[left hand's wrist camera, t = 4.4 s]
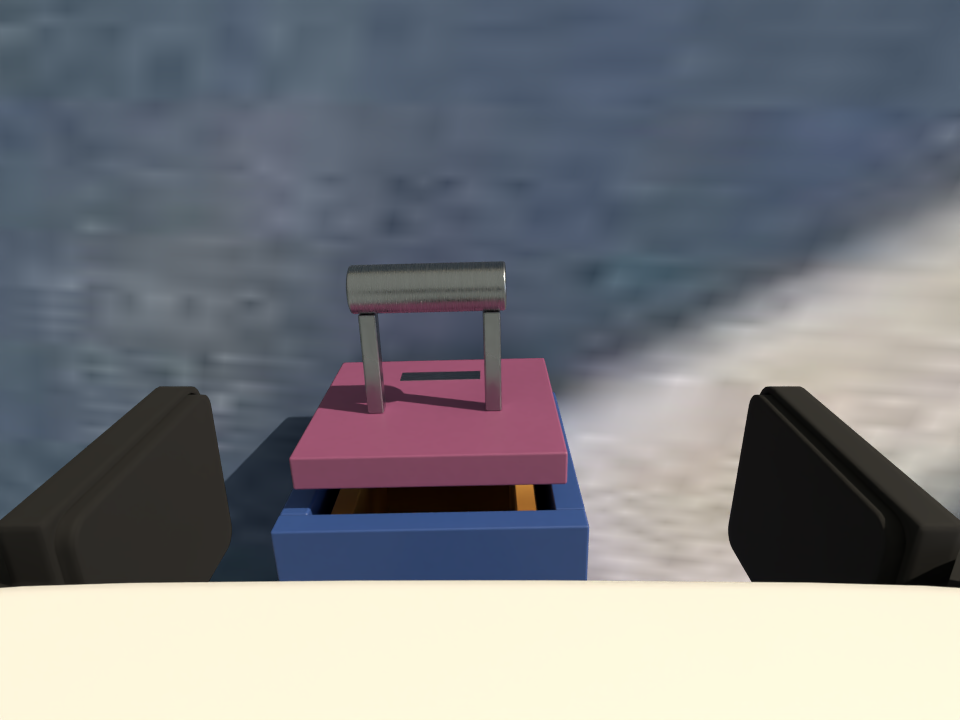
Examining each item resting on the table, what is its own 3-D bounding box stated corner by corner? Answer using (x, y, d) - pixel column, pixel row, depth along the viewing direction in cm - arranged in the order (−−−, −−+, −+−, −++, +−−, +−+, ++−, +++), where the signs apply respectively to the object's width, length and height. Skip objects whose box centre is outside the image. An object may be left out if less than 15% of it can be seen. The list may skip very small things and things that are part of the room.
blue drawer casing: (339, 396, 30) (269, 532, 20) (554, 391, 30) (589, 526, 20) (374, 698, 37) (335, 908, 27) (549, 695, 37) (573, 906, 27)
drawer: (329, 239, 26) (262, 293, 18) (545, 234, 26) (572, 285, 18) (377, 667, 35) (346, 831, 27) (541, 665, 34) (558, 828, 27)
